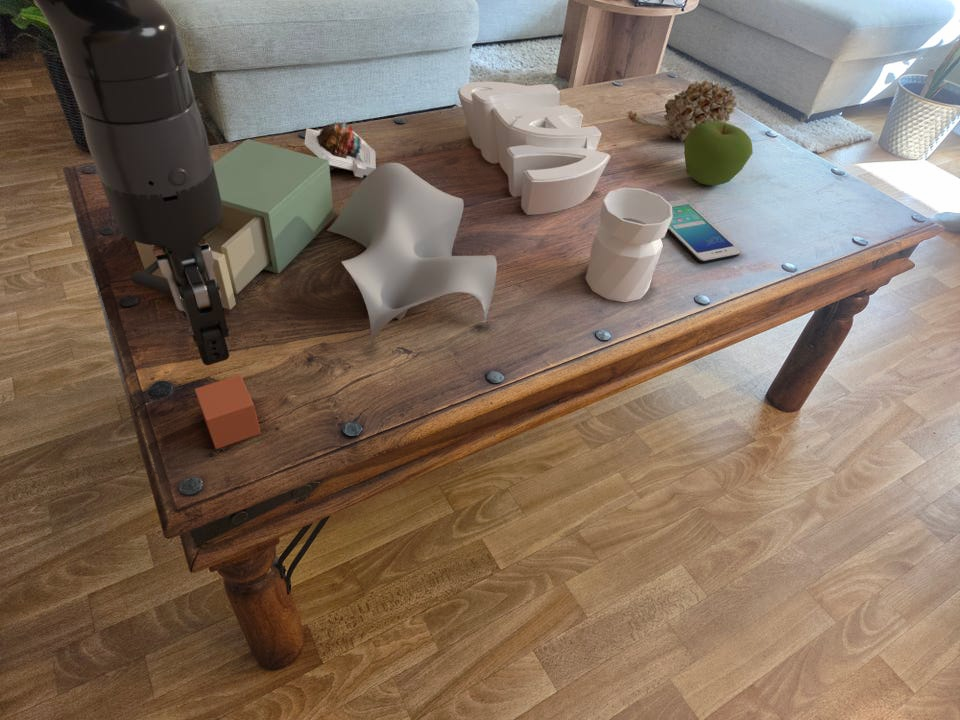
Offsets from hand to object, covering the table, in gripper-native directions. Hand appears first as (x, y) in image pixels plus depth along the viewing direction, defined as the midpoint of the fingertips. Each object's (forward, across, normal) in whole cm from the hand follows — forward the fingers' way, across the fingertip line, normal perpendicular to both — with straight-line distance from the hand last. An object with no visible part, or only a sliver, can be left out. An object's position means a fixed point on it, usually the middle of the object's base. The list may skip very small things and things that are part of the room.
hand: (206, 335), depth 58 cm
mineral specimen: (+13, -46, +30) cm, 56 cm away
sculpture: (+13, -15, +27) cm, 34 cm away
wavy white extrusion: (+13, -32, +57) cm, 67 cm away
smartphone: (+13, -7, +71) cm, 72 cm away
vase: (+13, -2, +52) cm, 54 cm away
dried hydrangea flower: (+13, -32, +90) cm, 96 cm away
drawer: (+12, -24, +4) cm, 27 cm away
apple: (+13, -18, +84) cm, 87 cm away
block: (+13, 0, 0) cm, 13 cm away
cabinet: (+13, -32, +14) cm, 37 cm away
